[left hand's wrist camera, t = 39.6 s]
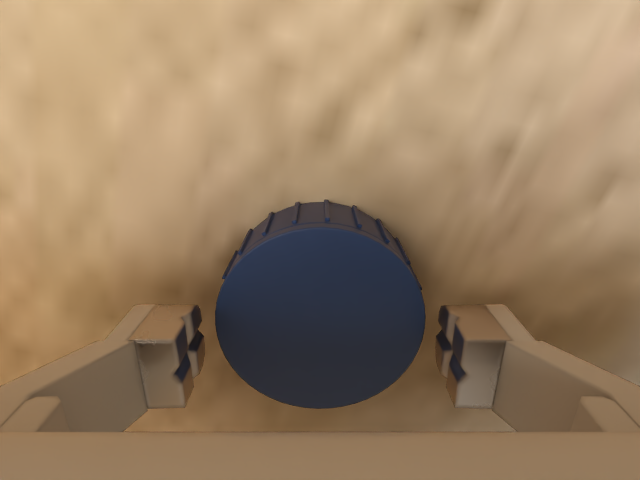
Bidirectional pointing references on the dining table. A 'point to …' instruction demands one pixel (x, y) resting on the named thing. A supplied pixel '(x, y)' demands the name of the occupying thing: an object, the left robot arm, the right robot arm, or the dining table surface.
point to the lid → (320, 307)
